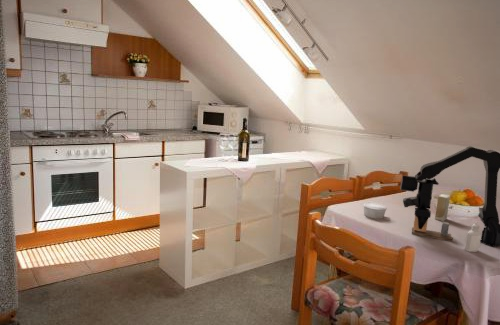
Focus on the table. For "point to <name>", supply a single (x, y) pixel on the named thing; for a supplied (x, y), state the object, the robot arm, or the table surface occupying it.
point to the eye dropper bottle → (473, 239)
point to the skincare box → (442, 207)
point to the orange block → (416, 226)
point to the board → (432, 234)
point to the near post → (444, 229)
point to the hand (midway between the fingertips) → (420, 227)
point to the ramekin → (374, 210)
